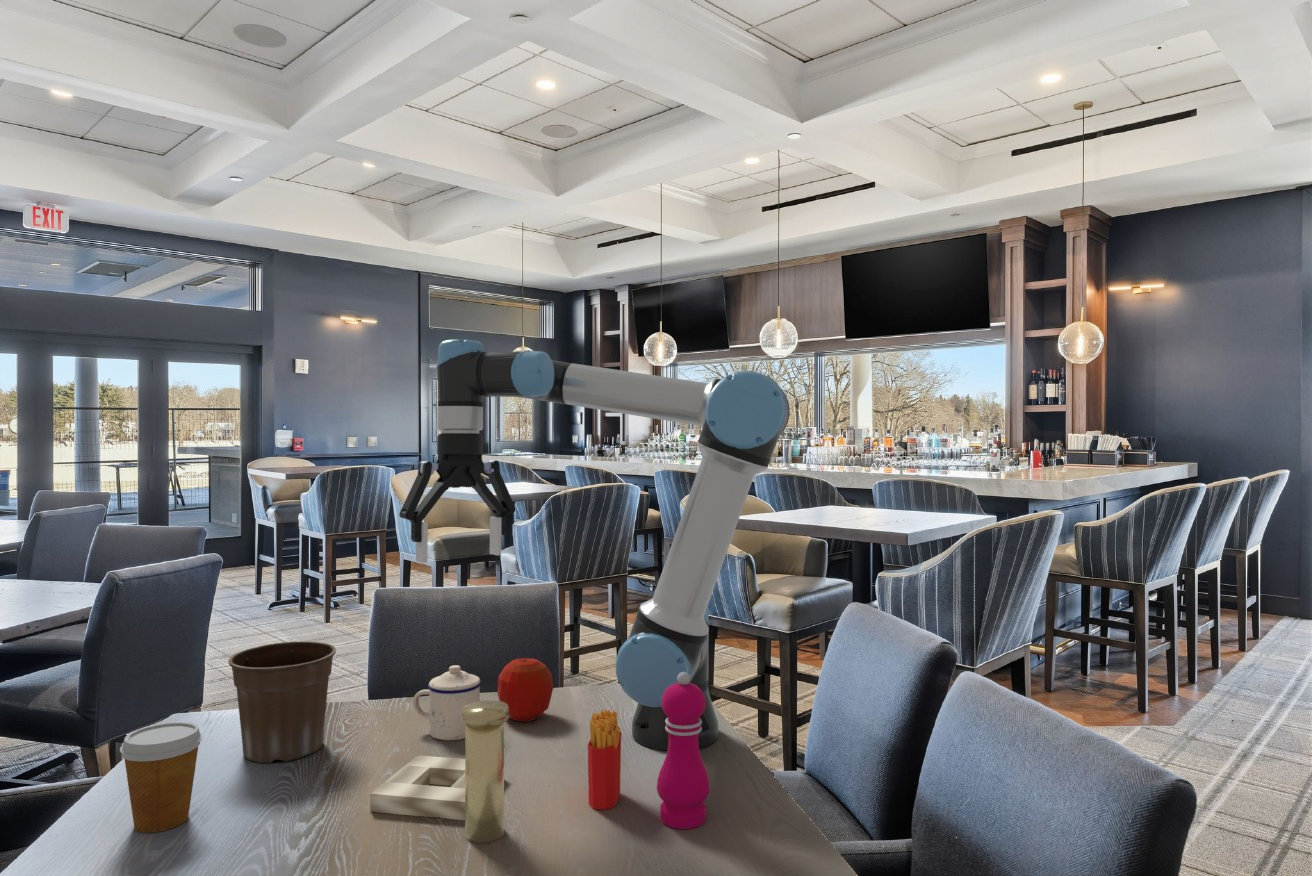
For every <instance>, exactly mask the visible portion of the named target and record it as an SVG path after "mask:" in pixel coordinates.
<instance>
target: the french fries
mask: <svg viewBox="0 0 1312 876" xmlns="http://www.w3.org/2000/svg"><path fill="white" fill-rule="evenodd" d="M589 730H590V739H589V741H588V743H587V770H588V771H587V772H588V773H587V774H588V775H587V776H588V781H587V783H588V806H589V807H590V808H592V809H593V810H603V811H604V810H606V811H607V810H608V809H611V808H614V807H615V806H616V804H617V802H618V800H619V798H620V795H621V765H622V764H621V763H622V762H621V761H622V759H621V758H622V757H621V756H622V732H621V727H620V726H618V713H617V712H616V711H615V710H612V711H611V710H610V709H608V710H607V709H604V710H603V709H602V710H601V711H600V713H599V712H597V713H596V712H594V713H592V715H591V720H589Z"/></svg>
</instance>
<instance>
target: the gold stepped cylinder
mask: <svg viewBox="0 0 1312 876" xmlns="http://www.w3.org/2000/svg"><path fill="white" fill-rule="evenodd" d="M508 719H509V715H508V705H507V704H506V703H504V702H501V701H499V700H493V699H491V700H490V699H489V700H488V699H487V700H486V699H485V700H480V701H477V702H472V703H469V704H466V705H465V706H463V707H462V716H461V721H462V723H463V724H465V739H464V740H465V743H464V747H465V748H464V749H465V751H464V753H465V755H464V759H465V820H464V837H465V840H466V841H469V842H471V843H476V844H483V843H484V844H485V843H490V842H494V841H497V840H498V839H500V838H502V837H503V836H504V833H505V722H507V721H508Z"/></svg>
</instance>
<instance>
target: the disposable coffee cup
mask: <svg viewBox="0 0 1312 876" xmlns="http://www.w3.org/2000/svg"><path fill="white" fill-rule="evenodd" d="M199 728H200V727H199V726H198V724H195V723H193V722H186V721H179V722H178V721H174V722H173V721H171V722H164V723H158V724H153V725H148V726H144V727H142V728H139V729H136V730H134V731H132V732H130V733H129V734H127V735H126V736H125V737H124V739H123V743H122V745H121V746H120V748H119V753H120V754H121V755H122V758H123V759H124V765H125V772H126V780H127V781H126V782H127V785H128V786H127V787H128V791H129V801H130V805H131V806H130V807H131V815H132V820H133V829H134V830H135V831H136V832H139V833H144V834H145V833H148V834H149V833H158V832H165V831H167V830H171V829H173V828H176V827H179V826H180V825H182V824H183V823H185V822H186V821H187V820H188V819H189V816H190V815H189V814H190V809H191V808H190V807H191V800H192V793H193V786H194V779H195V774H196V773H195V772H196V764H197V758H198V750H199V746H200V744H201V741H202V739H203V733H201V732H200V729H199Z"/></svg>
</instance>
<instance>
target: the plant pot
mask: <svg viewBox="0 0 1312 876" xmlns="http://www.w3.org/2000/svg"><path fill="white" fill-rule="evenodd" d="M336 651H337V648H336V646H334V645H333V644H330V643H327V642H319V641H285V642H275V643H268V644H263V645H259V646H256V647H251V648H247V649H244V650H241V651H238V652H236V653H235V654H233V655H232V656H230V657H229V658H228V661H227V662H228V663H227V664H228V666H230V668H231V669H232V670H231V671H232V676H233V677H232V678H233V685H234V687H235V688H236V695H237V704H238V714H239V715H238V716H239V722H240V723H239V725H240V733H241V735H240V736H241V743H242V744H241V745H242V754H243V757H244V758H245V759H246V760H248V761H251V762H253V763H260V764H261V763H262V764H272V763H273V762H274V761H276V760H279V761H283V762H285V763H286V762H289V761H294V760H297V759H302V758H305V757H307V755H308V756H309V755H312V754H313V753H315V752H316V751H319V749H321V748H322V746H323V742H324V739H325V736H324V735H325V725H326V723H325V722H326V712H327V701H328V690H329V689H328V688H329V680H330V679H329V678H330V676H331V674H332V669H333V667H332V666H333V657H334V655H336ZM304 756H305V757H304Z"/></svg>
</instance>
